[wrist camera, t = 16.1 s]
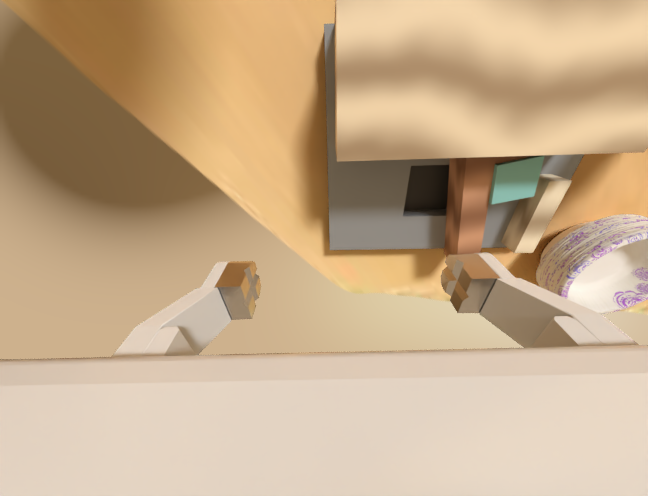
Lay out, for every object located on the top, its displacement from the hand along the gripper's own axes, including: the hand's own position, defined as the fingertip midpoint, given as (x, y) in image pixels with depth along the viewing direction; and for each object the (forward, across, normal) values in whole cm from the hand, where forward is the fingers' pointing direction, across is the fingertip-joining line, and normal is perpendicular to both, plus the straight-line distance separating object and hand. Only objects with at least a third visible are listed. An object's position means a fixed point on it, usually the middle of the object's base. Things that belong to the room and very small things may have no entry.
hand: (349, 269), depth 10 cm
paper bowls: (+24, -39, +17) cm, 49 cm away
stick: (+22, -26, +9) cm, 35 cm away
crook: (+22, -19, +7) cm, 30 cm away
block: (+22, -20, +3) cm, 30 cm away
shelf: (+22, -14, -6) cm, 27 cm away
